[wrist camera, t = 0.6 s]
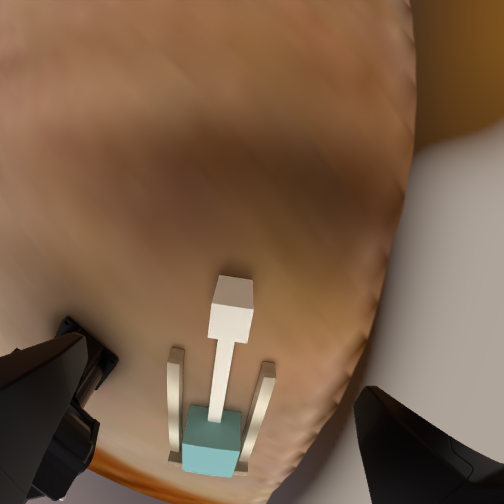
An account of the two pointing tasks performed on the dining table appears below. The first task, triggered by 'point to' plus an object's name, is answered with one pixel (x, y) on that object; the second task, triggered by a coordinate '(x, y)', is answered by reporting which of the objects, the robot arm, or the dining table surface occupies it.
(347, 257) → the dining table surface
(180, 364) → the beige u-shaped frame
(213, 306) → the teal and white dumbbell
